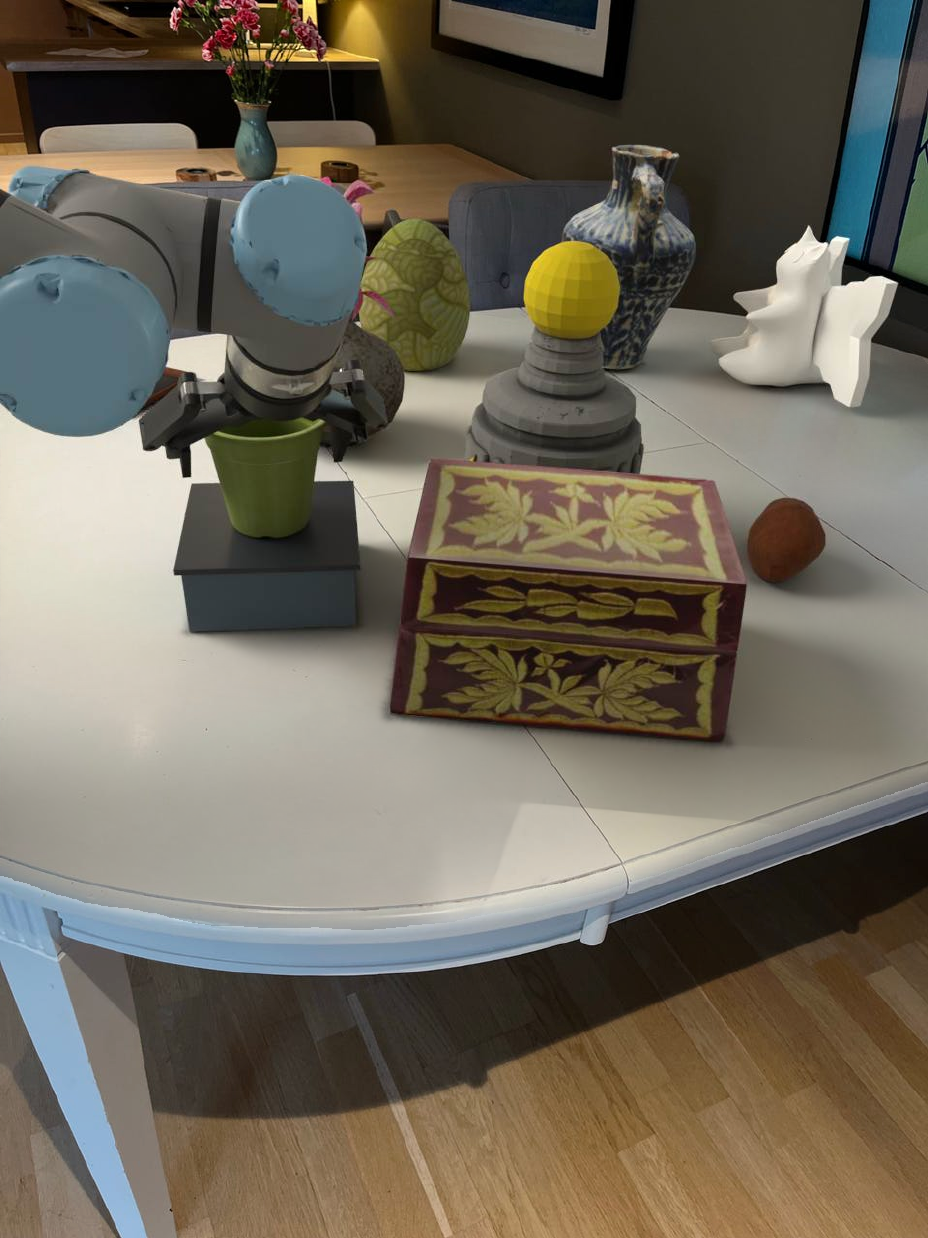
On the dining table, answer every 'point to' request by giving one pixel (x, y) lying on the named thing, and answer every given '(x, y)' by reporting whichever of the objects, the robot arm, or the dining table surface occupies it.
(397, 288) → the decorative sculpture
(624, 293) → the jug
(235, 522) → the plant pot
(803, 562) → the potato
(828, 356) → the cat figurine
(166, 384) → the smartphone
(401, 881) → the dining table surface
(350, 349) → the vase
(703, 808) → the dining table surface
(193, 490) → the container
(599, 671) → the decorative box
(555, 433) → the decorative lamp
